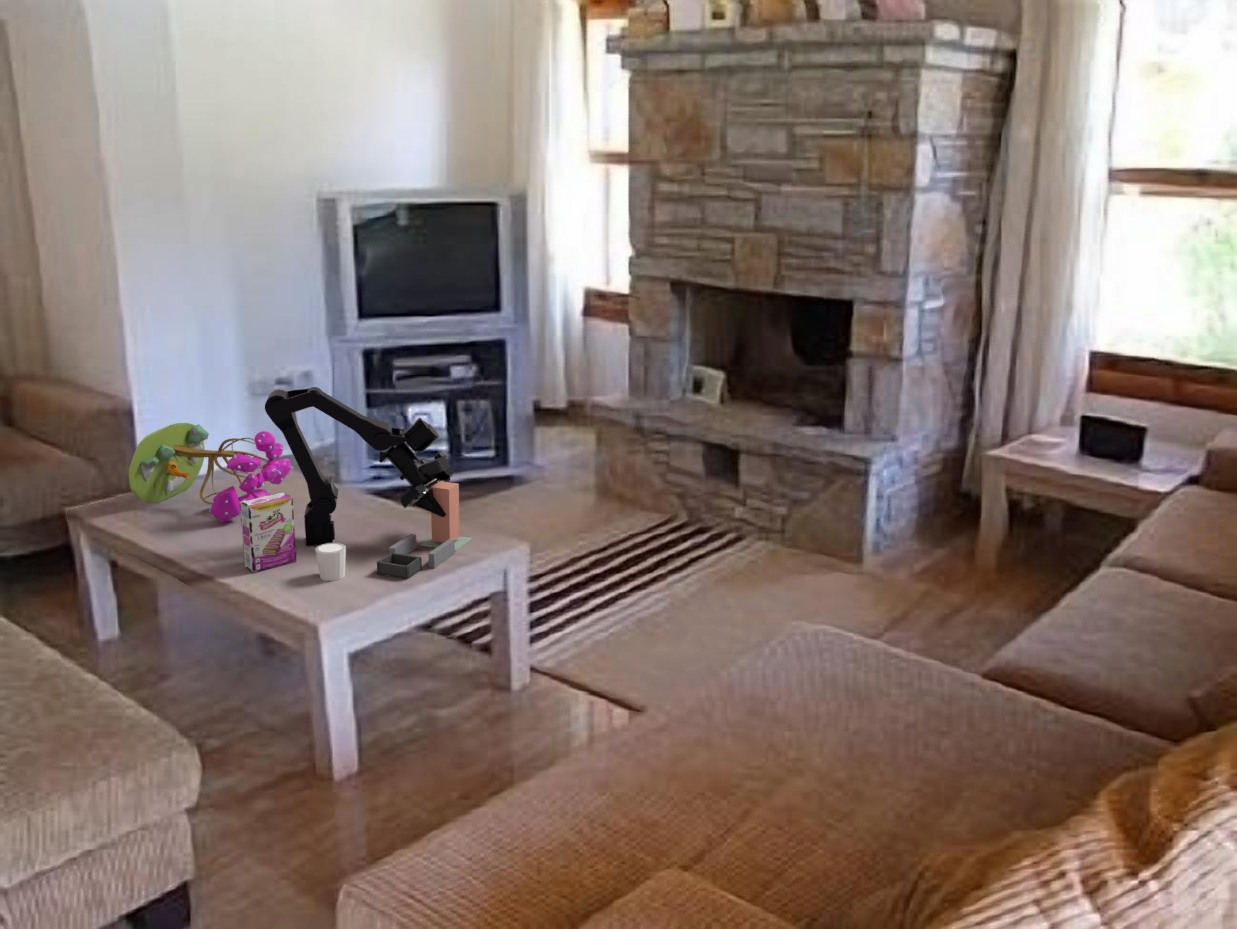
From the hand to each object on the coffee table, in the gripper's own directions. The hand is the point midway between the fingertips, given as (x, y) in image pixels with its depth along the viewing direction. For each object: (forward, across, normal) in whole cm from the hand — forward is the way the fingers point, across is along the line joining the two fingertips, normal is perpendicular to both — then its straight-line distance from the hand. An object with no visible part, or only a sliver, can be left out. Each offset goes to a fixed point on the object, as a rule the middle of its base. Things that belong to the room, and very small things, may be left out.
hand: (449, 512), depth 284 cm
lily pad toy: (-44, +2, +56) cm, 71 cm away
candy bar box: (-17, -28, +29) cm, 44 cm away
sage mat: (+5, 0, +7) cm, 8 cm away
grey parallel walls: (+5, -11, +7) cm, 14 cm away
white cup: (-5, -28, +17) cm, 33 cm away
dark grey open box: (+4, -21, +7) cm, 22 cm away
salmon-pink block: (+4, 0, +6) cm, 7 cm away
